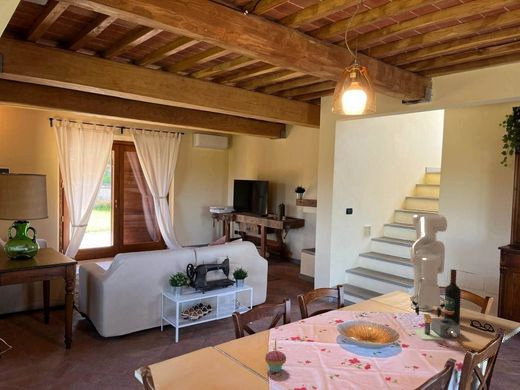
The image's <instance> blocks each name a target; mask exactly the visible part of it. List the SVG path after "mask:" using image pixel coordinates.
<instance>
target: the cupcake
mask: <svg viewBox="0 0 520 390" xmlns="http://www.w3.org/2000/svg"><path fill="white" fill-rule="evenodd" d="M274 339H275V340H274V350H271V351H268V353H266V354H265V358H264V359H265V363H267V366H268V369H269V371H270V372H273V373H278V372H281V370H282V368H283V365H284V364H286V361H287V356H286V354H285V353H284V352H282V351H280V350H277V337H275V338H274Z"/></svg>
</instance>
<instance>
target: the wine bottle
mask: <svg viewBox="0 0 520 390" xmlns="http://www.w3.org/2000/svg"><path fill="white" fill-rule="evenodd" d="M449 278H450V279H449V280H450V282H449V284H448V285H447V286H446V287H445V289H444V299H445V300H447V303H446V305H445V307H444V313H443V314H444V316H443V318H448V319H452V320H453V321H455V322H456V323H457V324H459V325H460V326H461V324H460V323H461V322H460V321H461V297H462V294H461V288H460V287H459V286H458V285H457V269H450V276H449Z"/></svg>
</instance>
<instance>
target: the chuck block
mask: <svg viewBox="0 0 520 390" xmlns="http://www.w3.org/2000/svg"><path fill="white" fill-rule="evenodd" d="M431 318H432V323H430V330H433V331H434V332H435V333H436V334H437V335H439V336H440V337H441V338H461V324H460V325H459V324H457V323H456V322H455V321H453V320H452V319H448V318H444V317H443V318H442V317H441V318H440V317H438V318H435V317H431Z"/></svg>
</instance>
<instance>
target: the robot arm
mask: <svg viewBox="0 0 520 390" xmlns="http://www.w3.org/2000/svg"><path fill="white" fill-rule="evenodd" d="M447 221H448V220H447V218H446V217H445V215H443V214H437V213H435V214H432V213H416V214H414V215H413V216H412V223H413V227H414V229H415V233H416V238H415V239H416V240H415V241H414V243H413V244H412V246H411V249H410V265H411V266H412V267H413V295H412V296H410V297H409V298H410V301H411V303H410V308H411V309H413V310H414V311H415V313H416V315H417V316H419V315H420V312H432V311H433V307H437V308H436V316H437V317H438V318H440V316H442V309H443V308H445V305H446V303H447V300H445V298H443V297H441V291H440V285H439V284H438V275H442V274H443V273H444V271H445V261H446V260H445V258H446V255H445V254H446V248H445V244H444V242H443V241H442V240H437V233H436V232H439V233H441V232H442V233H443V232H446V231H447V229H448V222H447ZM441 301H442V303H441Z"/></svg>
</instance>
